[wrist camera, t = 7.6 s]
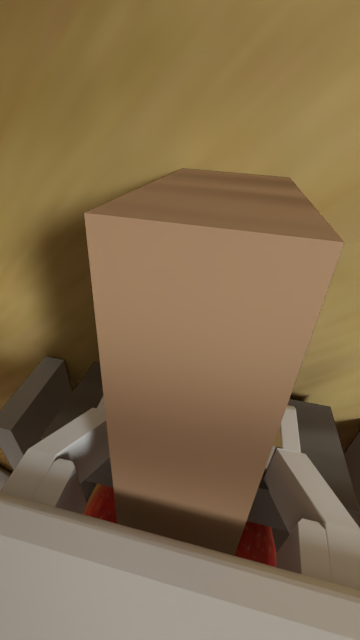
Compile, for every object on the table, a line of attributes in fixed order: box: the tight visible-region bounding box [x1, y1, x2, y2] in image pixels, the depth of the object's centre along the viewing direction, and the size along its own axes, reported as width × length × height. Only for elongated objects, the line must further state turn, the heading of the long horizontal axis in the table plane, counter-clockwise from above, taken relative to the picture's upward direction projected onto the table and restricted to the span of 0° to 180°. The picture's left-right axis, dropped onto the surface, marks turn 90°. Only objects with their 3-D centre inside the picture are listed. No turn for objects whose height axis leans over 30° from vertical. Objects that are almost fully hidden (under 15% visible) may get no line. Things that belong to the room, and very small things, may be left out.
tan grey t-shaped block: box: [41, 168, 360, 556], centre depth 9 cm, size 10×10×6 cm
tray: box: [0, 356, 360, 553], centre depth 16 cm, size 13×16×4 cm
